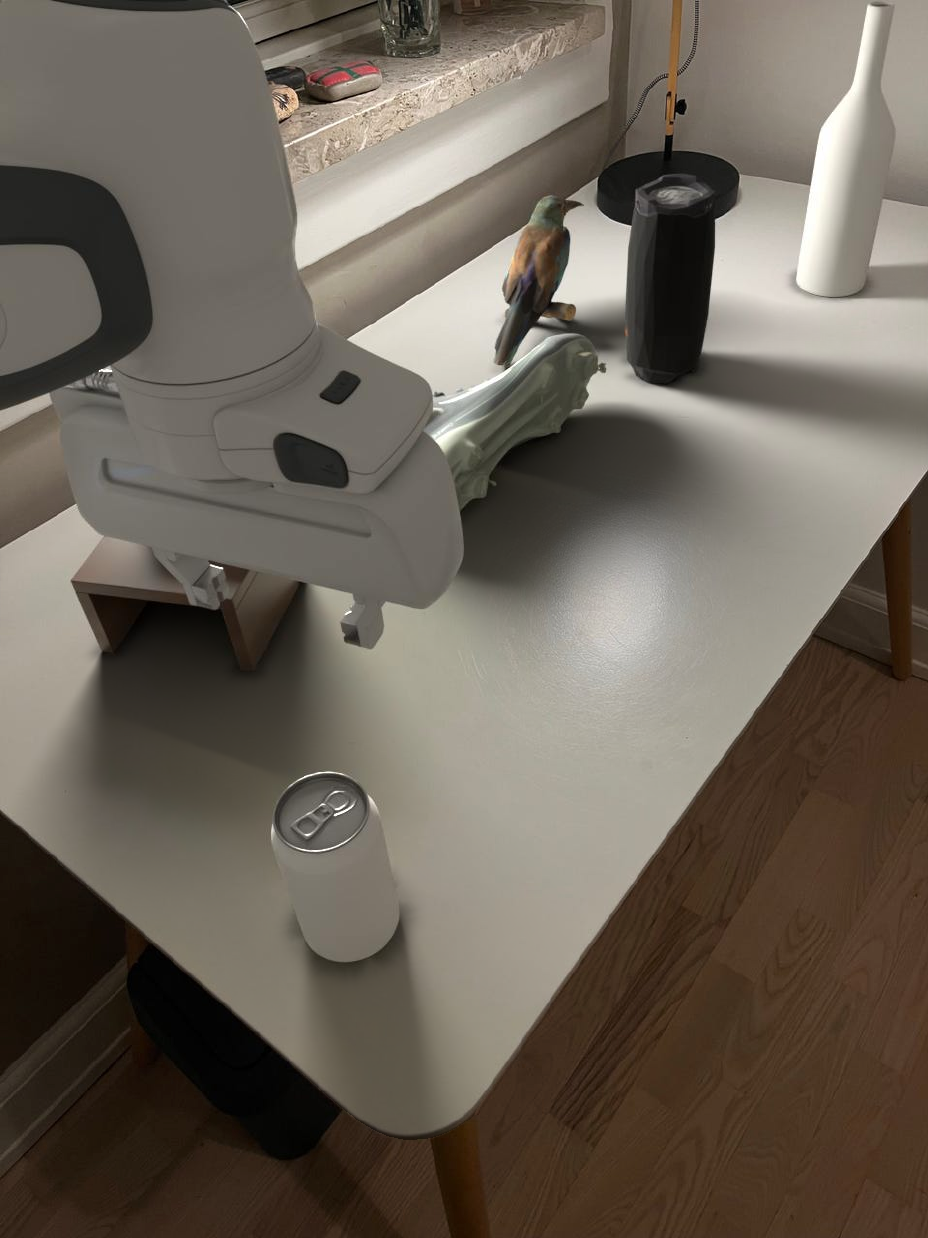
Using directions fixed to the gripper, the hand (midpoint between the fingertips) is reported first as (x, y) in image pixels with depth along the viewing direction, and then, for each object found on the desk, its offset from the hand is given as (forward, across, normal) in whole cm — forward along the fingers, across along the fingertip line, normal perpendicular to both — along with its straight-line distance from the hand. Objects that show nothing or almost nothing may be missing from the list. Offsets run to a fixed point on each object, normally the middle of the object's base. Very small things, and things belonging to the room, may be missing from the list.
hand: (286, 619), depth 55 cm
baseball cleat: (+23, -10, +49) cm, 55 cm away
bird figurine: (+23, -12, +74) cm, 78 cm away
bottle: (+23, +19, +94) cm, 98 cm away
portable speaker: (+23, +4, +69) cm, 73 cm away
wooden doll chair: (+23, -23, +18) cm, 38 cm away
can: (+23, +2, -4) cm, 24 cm away
